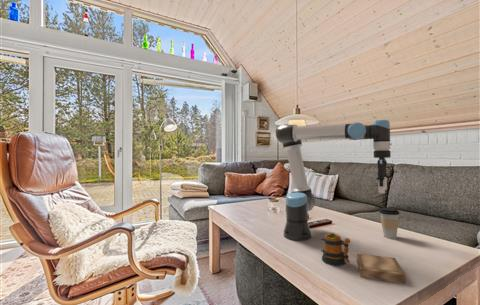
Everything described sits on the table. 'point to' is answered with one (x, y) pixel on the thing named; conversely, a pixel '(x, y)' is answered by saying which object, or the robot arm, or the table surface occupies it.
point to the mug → (335, 250)
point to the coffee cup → (389, 221)
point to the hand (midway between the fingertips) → (382, 191)
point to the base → (380, 268)
